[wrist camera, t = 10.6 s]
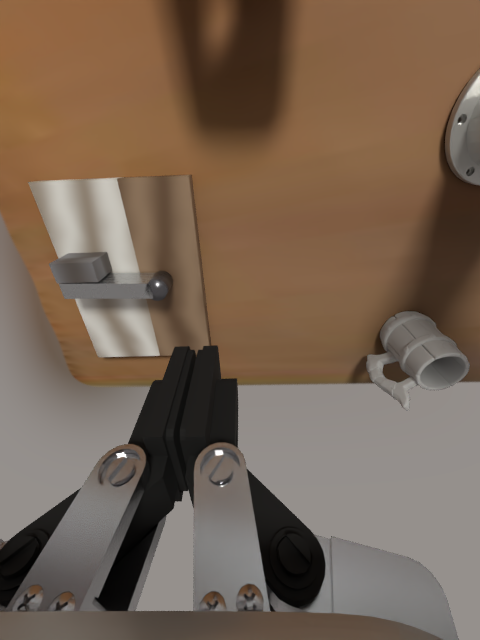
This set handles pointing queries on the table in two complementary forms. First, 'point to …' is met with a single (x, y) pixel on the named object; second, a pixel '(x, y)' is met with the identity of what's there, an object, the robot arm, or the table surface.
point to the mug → (416, 356)
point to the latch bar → (121, 287)
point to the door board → (130, 258)
